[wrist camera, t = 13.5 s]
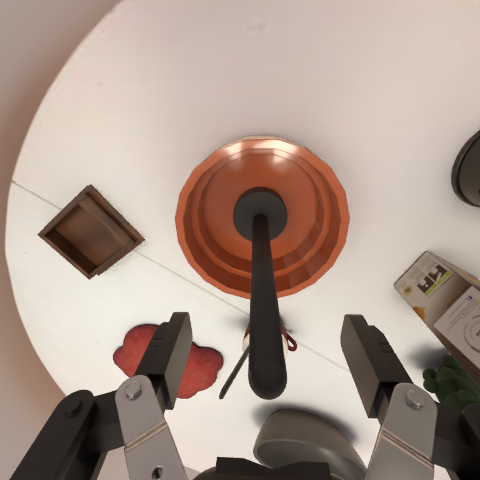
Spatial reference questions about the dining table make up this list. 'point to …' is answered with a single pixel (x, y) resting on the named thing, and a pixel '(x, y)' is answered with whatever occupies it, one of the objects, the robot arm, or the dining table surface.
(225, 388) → the cocoa
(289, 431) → the bowl
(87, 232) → the small square brown tray
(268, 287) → the black plunger
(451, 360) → the green topiary foliage
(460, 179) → the french press
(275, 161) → the orange round dish
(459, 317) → the coffee box
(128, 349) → the patty
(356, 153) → the dining table surface
